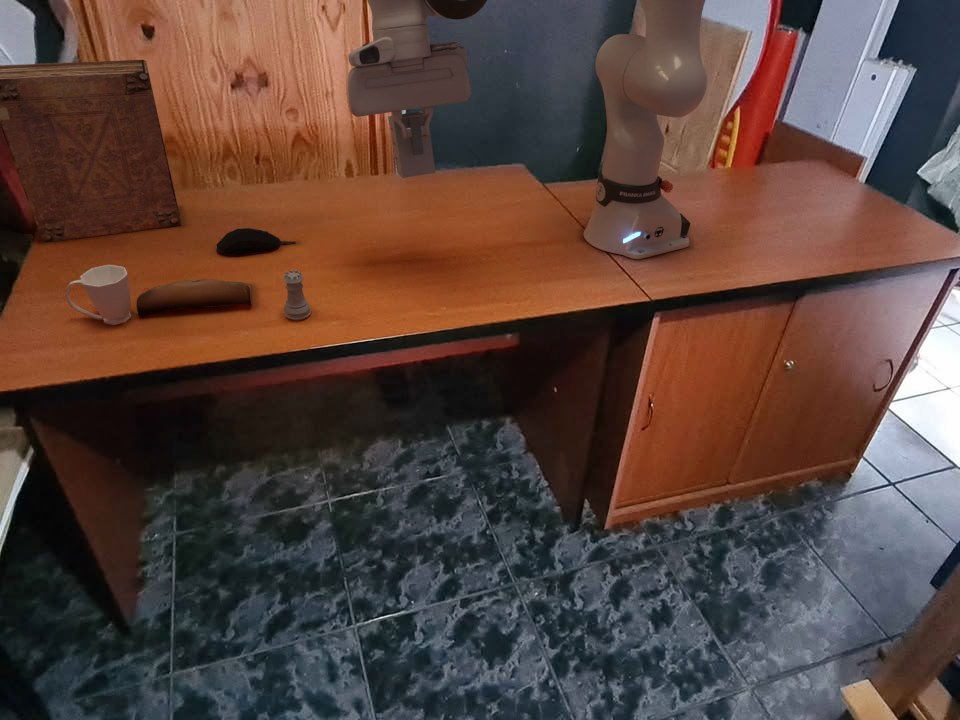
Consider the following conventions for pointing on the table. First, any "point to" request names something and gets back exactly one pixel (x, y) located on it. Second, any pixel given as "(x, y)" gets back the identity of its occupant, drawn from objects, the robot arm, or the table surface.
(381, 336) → the table surface
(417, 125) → the grey box with ridge
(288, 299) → the rook chess piece
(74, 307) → the cup
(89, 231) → the book
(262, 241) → the gaming mouse
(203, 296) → the sunglasses case
